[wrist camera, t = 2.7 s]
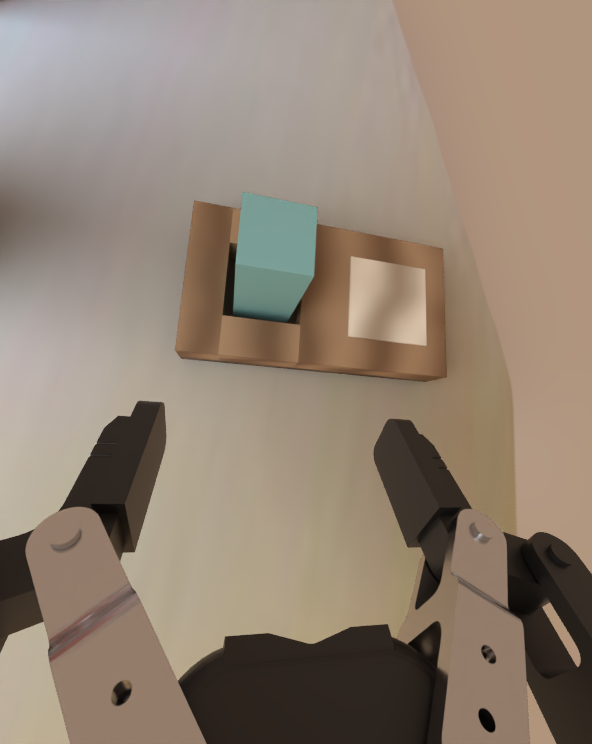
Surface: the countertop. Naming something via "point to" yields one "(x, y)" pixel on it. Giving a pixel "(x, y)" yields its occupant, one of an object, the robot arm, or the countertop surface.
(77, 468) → the countertop surface
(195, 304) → the puzzle board
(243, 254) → the teal block
